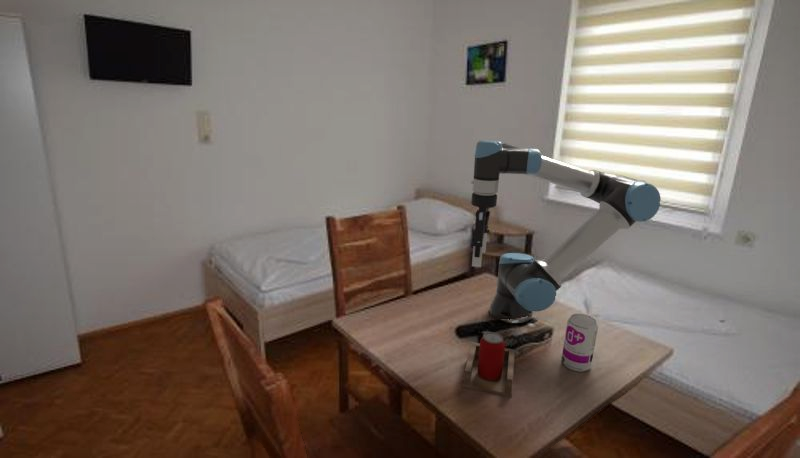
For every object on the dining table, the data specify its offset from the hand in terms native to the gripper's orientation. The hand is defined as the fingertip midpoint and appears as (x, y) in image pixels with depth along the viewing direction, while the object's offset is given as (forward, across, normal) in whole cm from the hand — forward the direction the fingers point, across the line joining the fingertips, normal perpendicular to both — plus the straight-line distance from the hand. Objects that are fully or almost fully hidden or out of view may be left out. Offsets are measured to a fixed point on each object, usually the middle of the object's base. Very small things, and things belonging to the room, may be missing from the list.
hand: (478, 259), depth 135 cm
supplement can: (+27, +7, +32) cm, 42 cm away
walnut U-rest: (+27, +21, +7) cm, 35 cm away
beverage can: (+26, +22, +8) cm, 35 cm away
